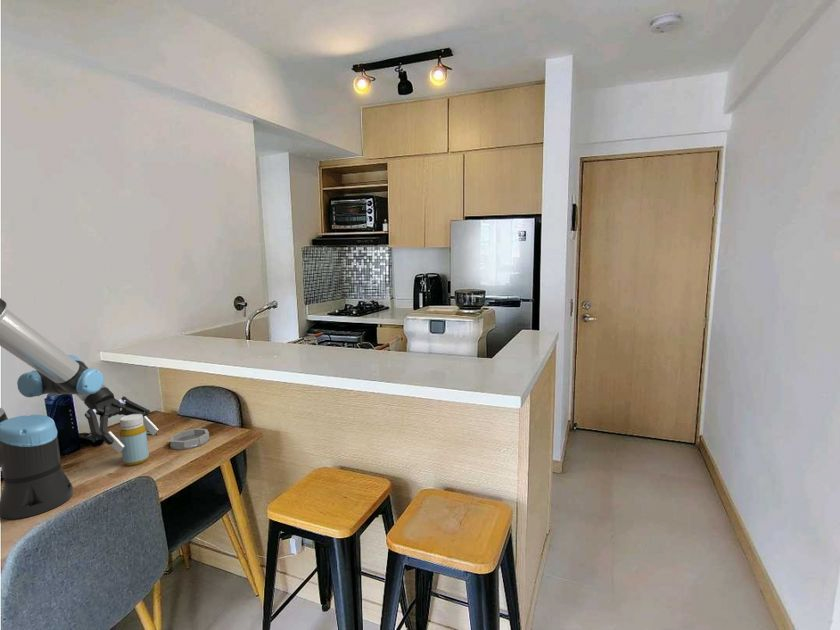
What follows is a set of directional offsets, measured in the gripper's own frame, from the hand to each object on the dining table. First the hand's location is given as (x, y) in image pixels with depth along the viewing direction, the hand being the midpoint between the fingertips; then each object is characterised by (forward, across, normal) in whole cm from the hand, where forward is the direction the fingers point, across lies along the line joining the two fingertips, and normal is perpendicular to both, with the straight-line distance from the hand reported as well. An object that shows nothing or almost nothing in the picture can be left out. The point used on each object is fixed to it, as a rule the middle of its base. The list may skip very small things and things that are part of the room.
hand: (139, 440), depth 142 cm
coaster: (+9, -16, -1) cm, 18 cm away
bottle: (+4, 0, -6) cm, 7 cm away
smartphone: (-6, -28, -16) cm, 33 cm away
